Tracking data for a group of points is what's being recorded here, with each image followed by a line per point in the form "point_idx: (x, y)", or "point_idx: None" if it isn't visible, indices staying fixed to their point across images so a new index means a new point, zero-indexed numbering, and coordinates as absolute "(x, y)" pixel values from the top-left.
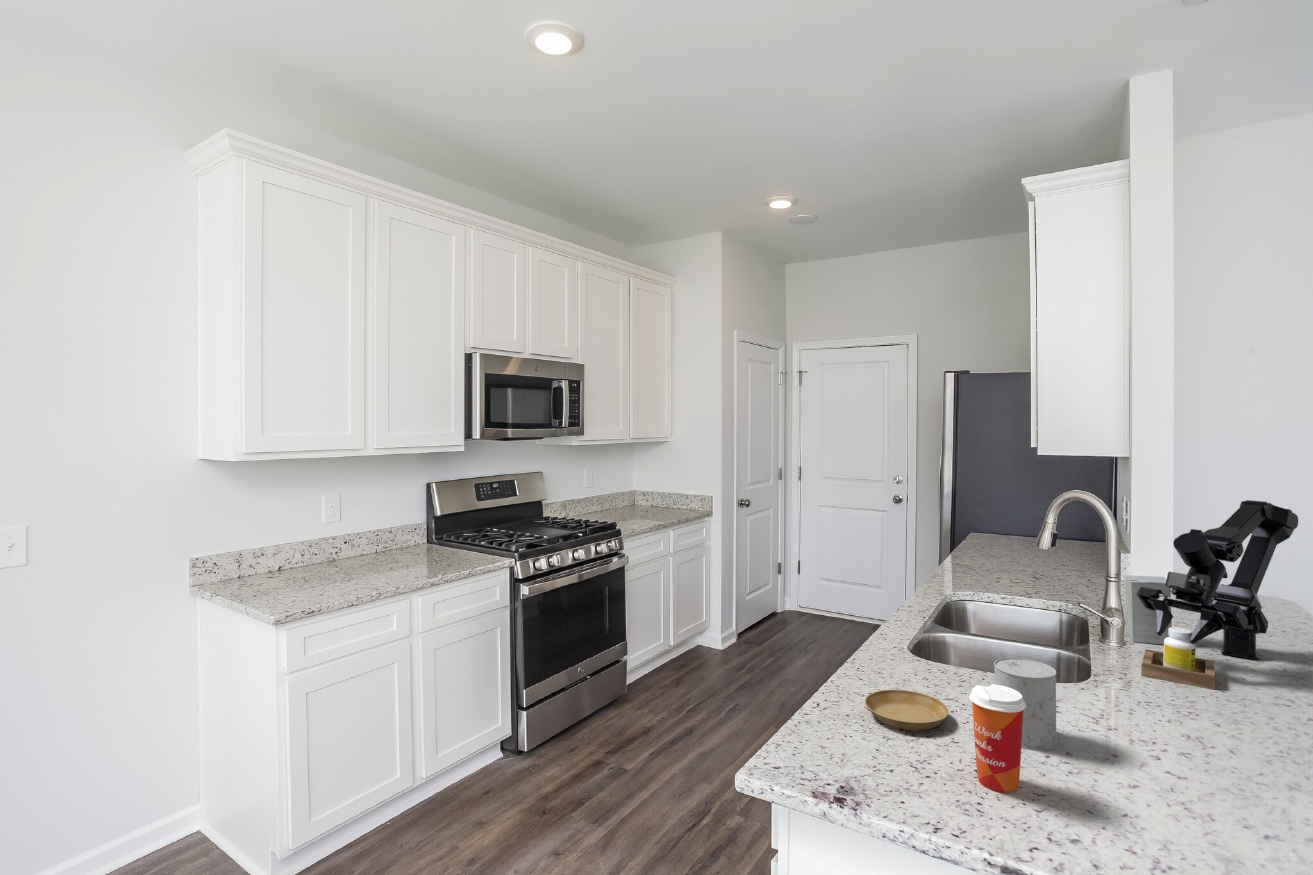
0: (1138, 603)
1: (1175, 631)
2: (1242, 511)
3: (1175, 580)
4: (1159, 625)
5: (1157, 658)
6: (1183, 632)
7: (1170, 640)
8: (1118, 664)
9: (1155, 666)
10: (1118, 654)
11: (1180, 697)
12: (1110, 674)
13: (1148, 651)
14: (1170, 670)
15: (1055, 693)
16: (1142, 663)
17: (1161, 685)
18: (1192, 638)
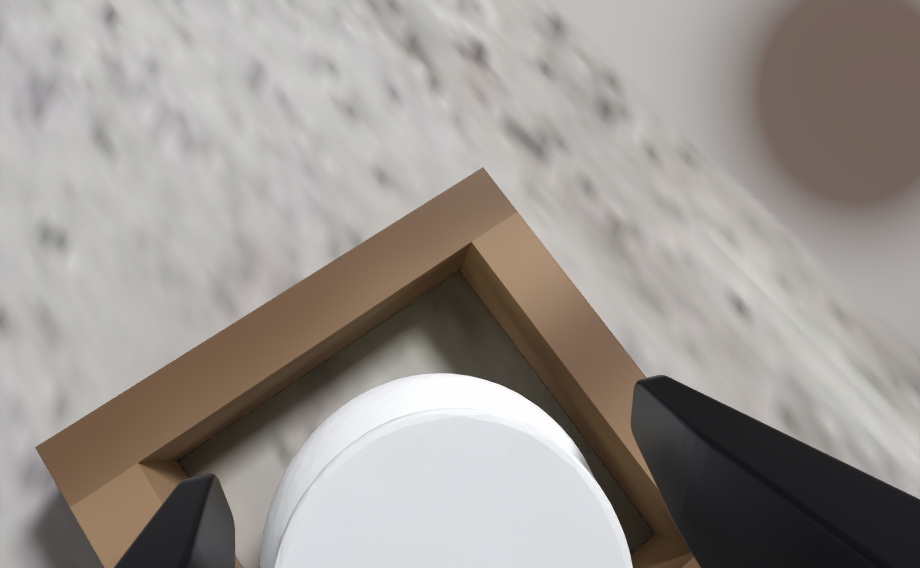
0: None
1: (415, 414)
2: None
3: None
4: (737, 440)
5: (656, 559)
6: (324, 505)
7: (464, 403)
8: (682, 259)
9: (415, 224)
10: (864, 450)
11: (114, 95)
12: (543, 59)
13: None
14: (322, 269)
15: None
16: (496, 192)
17: (302, 172)
18: (171, 511)
